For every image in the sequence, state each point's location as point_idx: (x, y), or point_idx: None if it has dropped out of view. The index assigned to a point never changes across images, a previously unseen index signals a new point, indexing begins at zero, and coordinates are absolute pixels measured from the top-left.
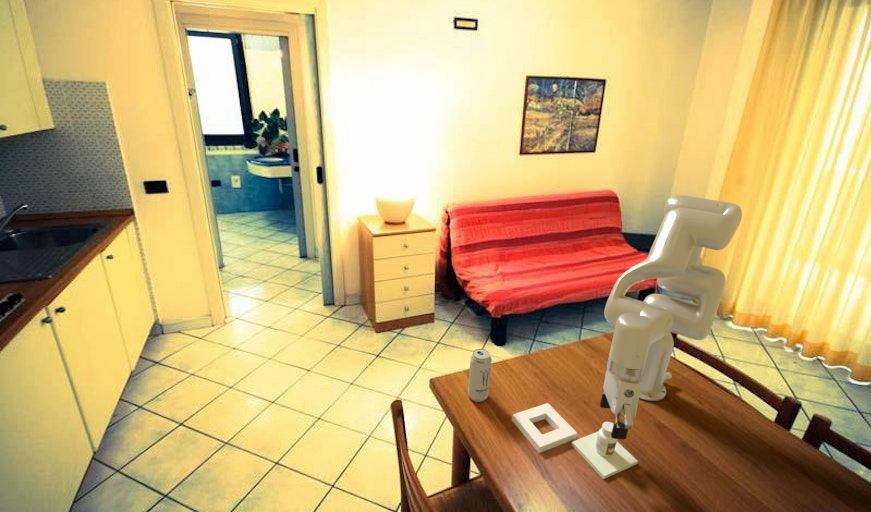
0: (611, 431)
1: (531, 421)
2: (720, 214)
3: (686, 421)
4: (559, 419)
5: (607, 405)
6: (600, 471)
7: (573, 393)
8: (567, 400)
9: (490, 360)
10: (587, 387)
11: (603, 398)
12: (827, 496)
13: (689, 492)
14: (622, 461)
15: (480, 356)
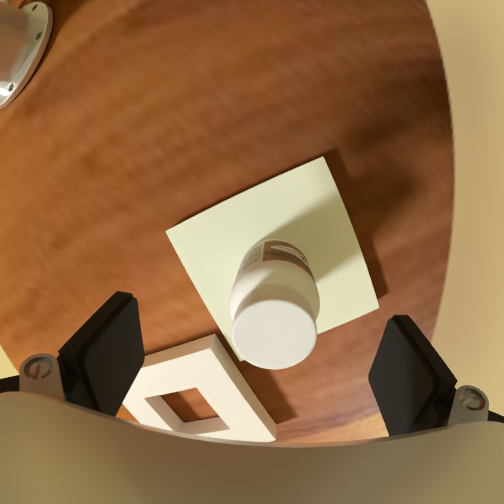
0: (310, 341)
1: (176, 421)
2: None
3: None
4: (159, 376)
5: (132, 344)
6: (362, 313)
7: (36, 268)
8: (63, 297)
9: None
10: (11, 215)
11: (116, 411)
12: None
13: (411, 52)
14: (326, 219)
15: None
